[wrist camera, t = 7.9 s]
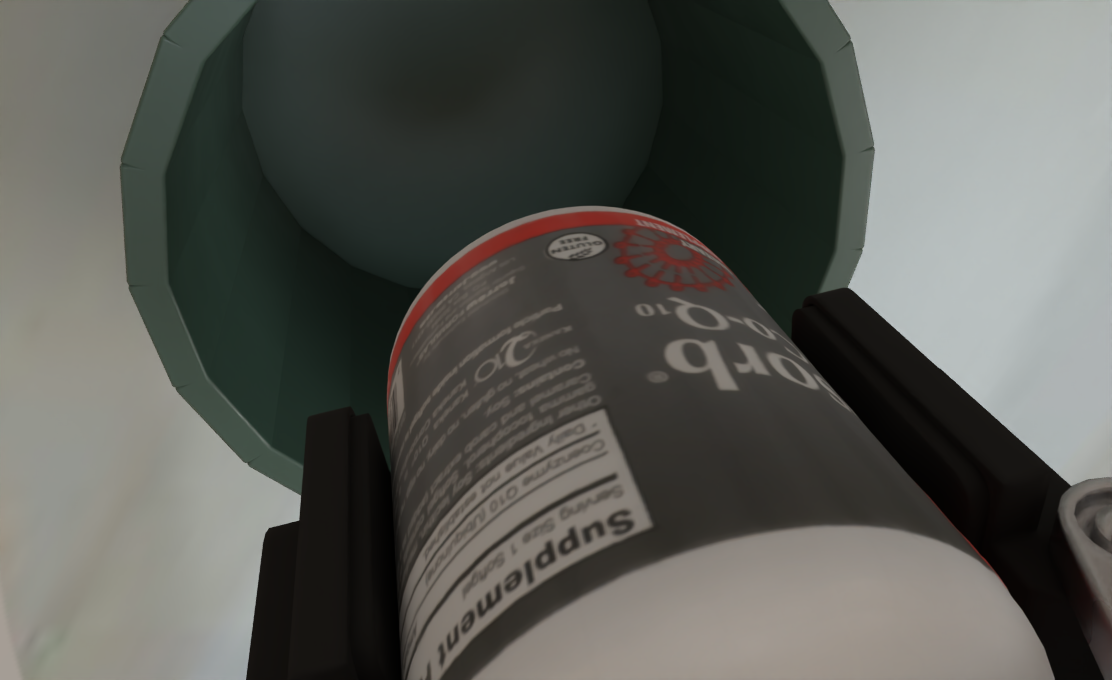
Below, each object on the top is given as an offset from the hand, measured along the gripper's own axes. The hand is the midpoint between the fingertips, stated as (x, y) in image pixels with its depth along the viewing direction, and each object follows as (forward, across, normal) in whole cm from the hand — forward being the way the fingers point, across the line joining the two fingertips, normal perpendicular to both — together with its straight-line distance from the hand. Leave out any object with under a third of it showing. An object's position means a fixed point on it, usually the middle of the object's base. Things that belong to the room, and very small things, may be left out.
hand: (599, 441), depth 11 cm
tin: (+18, 0, 0) cm, 18 cm away
